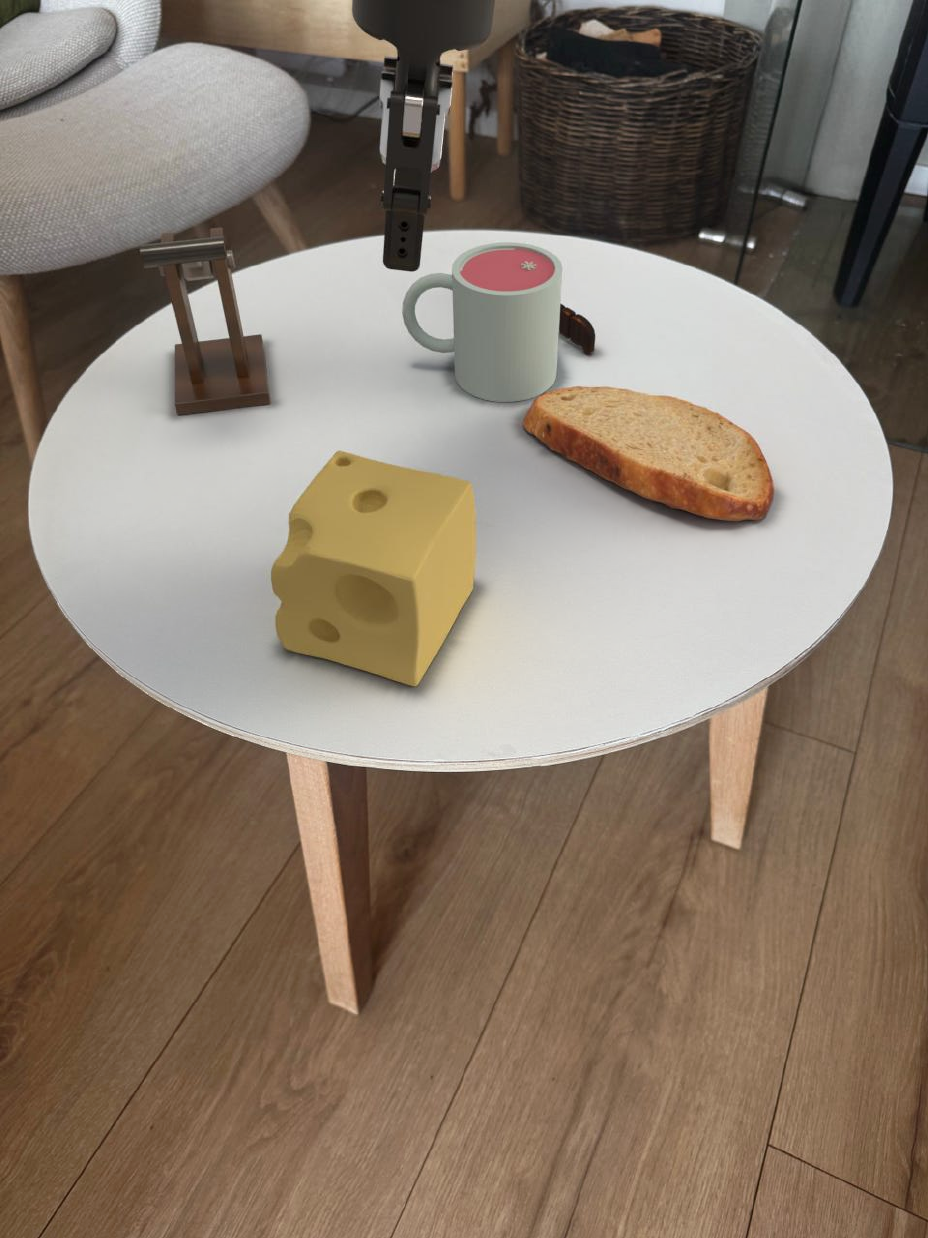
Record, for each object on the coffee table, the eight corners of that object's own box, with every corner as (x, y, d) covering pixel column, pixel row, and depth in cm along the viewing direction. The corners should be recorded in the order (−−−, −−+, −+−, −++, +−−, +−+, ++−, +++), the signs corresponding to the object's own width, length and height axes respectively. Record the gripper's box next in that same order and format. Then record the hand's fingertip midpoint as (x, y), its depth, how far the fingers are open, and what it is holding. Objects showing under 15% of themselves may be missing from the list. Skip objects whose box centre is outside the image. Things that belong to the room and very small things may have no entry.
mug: (560, 348, 92) (566, 244, 85) (551, 405, 86) (557, 298, 78) (415, 339, 94) (409, 236, 86) (396, 394, 87) (388, 288, 80)
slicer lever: (227, 263, 72) (221, 228, 71) (143, 273, 71) (136, 237, 71) (236, 275, 84) (231, 245, 83) (164, 283, 83) (158, 252, 82)
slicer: (270, 404, 87) (244, 264, 77) (177, 415, 86) (140, 275, 76) (263, 345, 93) (239, 210, 84) (177, 355, 92) (142, 220, 83)
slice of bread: (517, 406, 86) (518, 368, 83) (721, 391, 87) (728, 353, 84) (550, 543, 73) (553, 504, 71) (788, 525, 74) (799, 485, 72)
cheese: (279, 652, 66) (254, 539, 59) (351, 551, 73) (337, 439, 66) (422, 696, 63) (414, 583, 56) (483, 586, 70) (483, 474, 63)
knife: (477, 286, 101) (477, 258, 98) (484, 283, 101) (484, 255, 99) (587, 356, 91) (590, 327, 89) (595, 353, 91) (598, 323, 89)
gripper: (366, -116, 55) (354, 178, 66) (342, -47, 45) (333, 284, 57) (500, -95, 55) (464, 192, 67) (505, -23, 46) (463, 299, 57)
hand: (404, 234), depth 62 cm, fingers open, 8 cm apart
